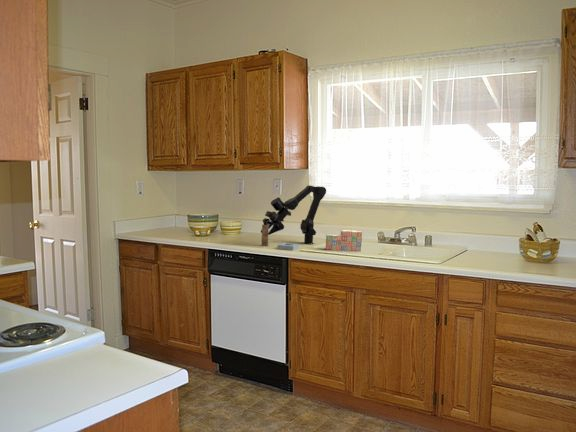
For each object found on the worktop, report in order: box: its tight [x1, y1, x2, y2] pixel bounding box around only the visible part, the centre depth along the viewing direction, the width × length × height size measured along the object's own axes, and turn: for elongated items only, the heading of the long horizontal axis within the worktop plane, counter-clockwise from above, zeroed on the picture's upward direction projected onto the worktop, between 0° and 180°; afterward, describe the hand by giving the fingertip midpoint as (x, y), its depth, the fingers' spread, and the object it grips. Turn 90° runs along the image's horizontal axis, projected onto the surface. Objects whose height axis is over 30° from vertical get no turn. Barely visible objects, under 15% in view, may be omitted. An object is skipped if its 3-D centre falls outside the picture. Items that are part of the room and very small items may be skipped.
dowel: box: [260, 224, 270, 247], centre depth 325 cm, size 4×4×13 cm
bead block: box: [277, 242, 300, 251], centre depth 317 cm, size 10×10×2 cm
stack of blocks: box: [325, 229, 363, 252], centre depth 321 cm, size 21×6×12 cm, turn 90°
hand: (264, 233), depth 325 cm, fingers open, 9 cm apart
